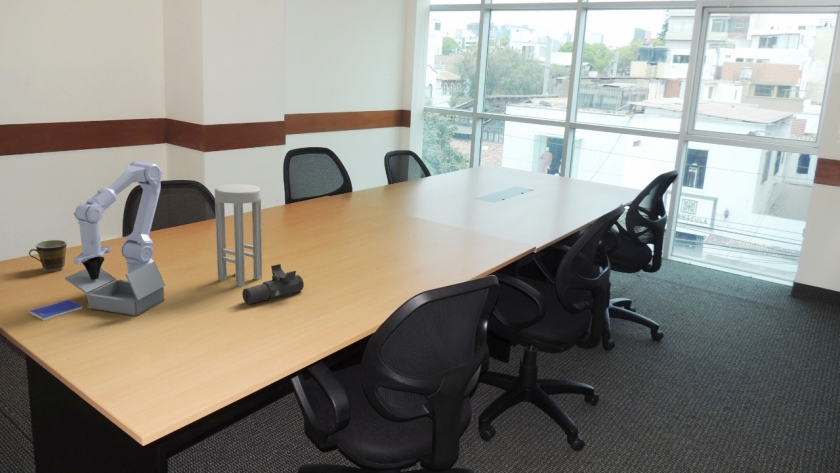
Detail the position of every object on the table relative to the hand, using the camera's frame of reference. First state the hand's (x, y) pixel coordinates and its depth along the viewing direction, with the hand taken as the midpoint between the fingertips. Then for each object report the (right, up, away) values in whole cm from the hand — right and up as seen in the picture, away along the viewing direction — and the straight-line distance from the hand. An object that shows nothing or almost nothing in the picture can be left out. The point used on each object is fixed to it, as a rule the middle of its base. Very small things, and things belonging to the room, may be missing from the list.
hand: (94, 278), depth 215 cm
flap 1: (-1, 0, 0) cm, 1 cm away
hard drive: (-8, -10, -8) cm, 15 cm away
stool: (+41, -2, +28) cm, 49 cm away
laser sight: (+57, -8, +13) cm, 59 cm away
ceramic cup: (-30, +1, +27) cm, 40 cm away
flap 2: (+19, 0, -5) cm, 20 cm away
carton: (+11, -8, -1) cm, 14 cm away
